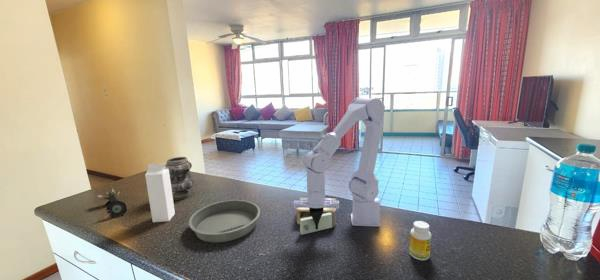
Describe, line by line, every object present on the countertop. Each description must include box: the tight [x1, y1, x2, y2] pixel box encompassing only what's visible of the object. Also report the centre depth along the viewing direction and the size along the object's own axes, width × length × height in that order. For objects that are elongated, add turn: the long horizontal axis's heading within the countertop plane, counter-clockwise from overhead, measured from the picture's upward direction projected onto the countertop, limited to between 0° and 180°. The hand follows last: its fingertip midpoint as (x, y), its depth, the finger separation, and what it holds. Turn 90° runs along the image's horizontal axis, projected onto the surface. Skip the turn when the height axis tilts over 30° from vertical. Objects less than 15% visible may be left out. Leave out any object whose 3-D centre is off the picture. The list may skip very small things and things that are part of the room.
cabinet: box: [296, 197, 337, 226], centre depth 94 cm, size 14×10×6 cm
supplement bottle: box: [408, 220, 432, 261], centre depth 71 cm, size 5×5×10 cm
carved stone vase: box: [165, 156, 195, 201], centre depth 117 cm, size 12×12×18 cm
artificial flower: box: [97, 186, 128, 218], centre depth 108 cm, size 9×22×10 cm, turn 37°
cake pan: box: [188, 199, 261, 243], centre depth 91 cm, size 25×25×4 cm
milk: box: [144, 162, 176, 223], centre depth 96 cm, size 6×6×22 cm
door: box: [299, 211, 336, 236], centre depth 85 cm, size 12×3×6 cm, turn 110°
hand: (316, 227), depth 83 cm, fingers closed, pressing on door
